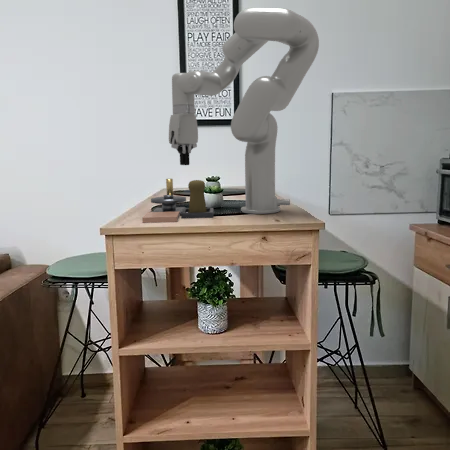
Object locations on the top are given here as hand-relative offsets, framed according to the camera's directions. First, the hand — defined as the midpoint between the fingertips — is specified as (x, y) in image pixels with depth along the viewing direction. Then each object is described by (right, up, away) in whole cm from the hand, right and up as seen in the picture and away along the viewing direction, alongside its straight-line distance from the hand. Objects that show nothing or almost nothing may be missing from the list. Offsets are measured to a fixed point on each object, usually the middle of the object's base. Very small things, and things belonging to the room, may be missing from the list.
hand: (184, 164), depth 162 cm
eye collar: (+6, -18, -18) cm, 26 cm away
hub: (-5, -17, -8) cm, 19 cm away
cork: (+6, -18, -18) cm, 26 cm away
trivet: (-5, -19, -23) cm, 31 cm away
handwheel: (-5, -13, -8) cm, 16 cm away
